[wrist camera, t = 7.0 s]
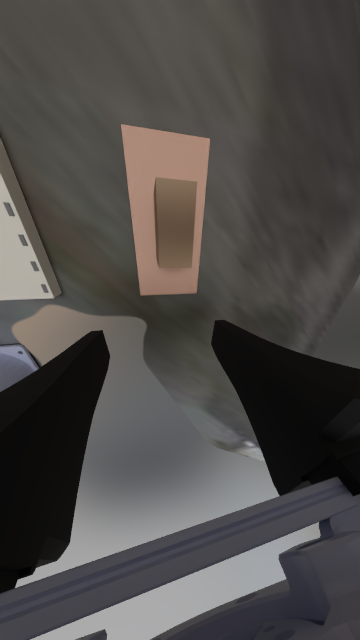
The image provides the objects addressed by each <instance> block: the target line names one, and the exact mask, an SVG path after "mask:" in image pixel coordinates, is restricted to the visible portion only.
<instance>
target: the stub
mask: <svg viewBox="0 0 360 640" xmlns="http://www.w3.org/2000/svg"><path fill="white" fill-rule="evenodd" d="M121 128H122V136H123V145H124V154H125V163H126V172H127V180H128V189H129V198H130V207H131V215H132V224H133V233H134V242H135V250H136V259H137V268H138V277H139V286H140V294H141V295H164V294H189V293H197V283H198V271H199V260H200V248H201V237H202V225H203V214H204V203H205V191H206V180H207V168H208V157H209V145H210V139H208V138H202V137H196V136H190V135H184V134H178V133H171V132H165V131H159V130H153V129H147V128H141V127H135V126H128V125H122V124H121Z"/></svg>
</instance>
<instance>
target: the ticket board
mask: <svg viewBox="0 0 360 640" xmlns="http://www.w3.org/2000/svg"><path fill="white" fill-rule="evenodd" d="M61 293H62V292H61V290H60V287H59V285H58V282H57V279H56V277H55V274H54V272H53V269H52V267H51V264H50V262H49V259H48V257H47V254H46V252H45V249H44V247H43V244H42V241H41V239H40V236H39V234H38V231H37V229H36V226H35V224H34V221H33V219H32V216H31V214H30V211H29V209H28V206H27V204H26V201H25V198H24V196H23V193H22V191H21V188H20V186H19V183H18V181H17V178H16V176H15V173H14V171H13V168H12V166H11V163H10V160H9V158H8V155H7V153H6V150H5V148H4V145H3V143H2V140H1V138H0V300H19V299H45V298H55V297H57V296H58V295H60V294H61Z"/></svg>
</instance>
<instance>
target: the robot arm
mask: <svg viewBox="0 0 360 640" xmlns="http://www.w3.org/2000/svg"><path fill="white" fill-rule="evenodd" d="M211 345H212V347H213V350H214V352H215V355H216V357H217V359H218V360H219V362H220V364H221V366H222V367H223V369H224V371H225V372H226V374H227V376H228V377H229V379H230V381H231V382H232V384H233V386H234V388H235V390H236V392H237V394H238V396H239V398H240V400H241V402H242V405H243V407H244V409H245V411H246V414H247V416H248V418H249V421H250V423H251V425H252V428H253V430H254V433H255V435H256V438H257V440H258V443H259V445H260V448H261V451H262V453H263V456H264V459H265V462H266V464H267V467H268V470H269V473H270V475H271V478H272V481H273V483H274V486H275V487H276V489H277V491H278V493H279V495H280V496H279V497H277V498H274V499H271V500H268V501H265V502H262V503H259V504H256V505H253V506H251V507H248V508H245V509H242V510H239V511H236V512H233V513H231V514H227V515H225V516H222V517H219V518H216V519H213V520H211V521H207V522H205V523H202V524H199V525H196V526H193V527H190V528H187V529H184V530H181V531H179V532H176V533H173V534H170V535H167V536H164V537H161V538H158V539H156V540H153V541H150V542H147V543H144V544H141V545H138V546H135V547H133V548H130V549H127V550H125V551H121V552H119V553H115V554H112V555H110V556H107V557H104V558H101V559H98V560H95V561H92V562H89V563H87V564H84V565H81V566H78V567H75V568H72V569H69V570H66V571H64V572H61V573H58V574H55V575H52V576H50V577H46V578H44V579H41V580H38V581H35V582H32V583H29V584H26V585H23V586H20V587H17V588H15V586H16V583H17V580H18V579H21V578H24V577H27V576H30V575H32V574H33V572H34V571H35V569H36V568H37V567H40V566H43V565H46V564H49V563H52V562H55V561H57V560H58V559H59V558H60V557H61V555H62V554H63V552H64V551H65V550H66V548H67V547H68V545H69V543H70V538H71V531H72V524H73V517H74V511H75V505H76V498H77V493H78V486H79V481H80V476H81V470H82V464H83V460H84V454H85V450H86V445H87V439H88V436H89V431H90V427H91V422H92V418H93V414H94V411H95V407H96V404H97V401H98V398H99V395H100V392H101V389H102V386H103V383H104V380H105V376H106V373H107V370H108V365H109V359H110V354H109V351H108V347H107V344H106V341H105V337H104V334H103V330H100V331H91V332H89V333H88V334H86V335H85V336H84V337H82V338H81V339H80V340H78V341H77V342H76V343H74V344H73V345H72V346H70V347H69V348H68V349H66V350H65V351H64V352H62V353H61V354H59V355H58V356H57V357H55V358H54V359H52V360H51V361H49V362H48V363H47V364H45V365H43V366H42V367H40V368H39V367H38V366H37V364H36V363H35V361H34V360H33V358H32V356H31V355H30V353H29V352H28V350H27V349H26V347H25V346H24V345H21V344H17V345H5V346H0V640H30V639H32V638H35V637H37V636H40V635H42V634H45V633H47V632H50V631H52V630H54V629H57V628H59V627H62V626H64V625H66V624H69V623H72V622H74V621H76V620H79V619H81V618H84V617H86V616H89V615H91V614H94V613H96V612H99V611H101V610H104V609H106V608H108V607H111V606H113V605H116V604H118V603H121V602H123V601H126V600H128V599H131V598H133V597H135V596H138V595H140V594H143V593H145V592H148V591H150V590H153V589H155V588H158V587H160V586H162V585H165V584H167V583H170V582H172V581H175V580H177V579H180V578H182V577H185V576H187V575H189V574H192V573H194V572H197V571H199V570H202V569H204V568H207V567H209V566H212V565H214V564H217V563H219V562H221V561H224V560H226V559H229V558H231V557H234V556H236V555H239V554H241V553H244V552H246V551H248V550H251V549H253V548H255V547H258V546H261V545H263V544H265V543H268V542H271V541H273V540H275V539H278V538H280V537H283V536H285V535H288V534H290V533H293V532H295V531H297V530H300V529H302V528H305V527H307V526H310V525H312V524H314V523H317V522H319V529H320V534H321V536H320V538H318V539H314V540H311V541H308V542H304V543H302V544H299V545H297V546H294V547H292V548H290V549H289V550H287V551H285V552H283V553H281V554H279V561H280V564H281V566H282V568H283V571H284V573H285V576H286V578H287V579H286V580H283V581H281V582H278V583H276V584H273V585H270V586H268V587H265V588H263V589H261V590H258V591H256V592H253V593H251V594H248V595H245V596H243V597H240V598H238V599H235V600H233V601H230V602H228V603H225V604H223V605H220V606H218V607H216V608H214V609H211V610H209V611H207V612H205V613H202V614H200V615H198V616H196V617H194V618H191V619H189V620H187V621H185V622H183V623H181V624H179V625H177V626H175V627H173V628H171V629H169V630H167V631H166V632H164V633H162V634H160V635H158V636H156V637H154V638H152V639H151V640H360V369H357V368H352V367H348V366H344V365H340V364H336V363H332V362H328V361H325V360H321V359H318V358H314V357H311V356H308V355H305V354H301V353H298V352H295V351H292V350H290V349H287V348H284V347H282V346H279V345H276V344H274V343H271V342H269V341H267V340H265V339H262V338H260V337H258V336H256V335H254V334H252V333H250V332H248V331H246V330H244V329H242V328H240V327H238V326H236V325H234V324H232V323H230V322H227V321H225V320H216V321H215V324H214V330H213V336H212V342H211ZM21 351H22V352H21ZM14 588H15V589H14ZM106 639H107V633H106V631H105V629H104V630H101V631H98V632H96V633H93V634H90V635H87V636H84V637H81V638H78V639H76V640H106Z"/></svg>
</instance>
